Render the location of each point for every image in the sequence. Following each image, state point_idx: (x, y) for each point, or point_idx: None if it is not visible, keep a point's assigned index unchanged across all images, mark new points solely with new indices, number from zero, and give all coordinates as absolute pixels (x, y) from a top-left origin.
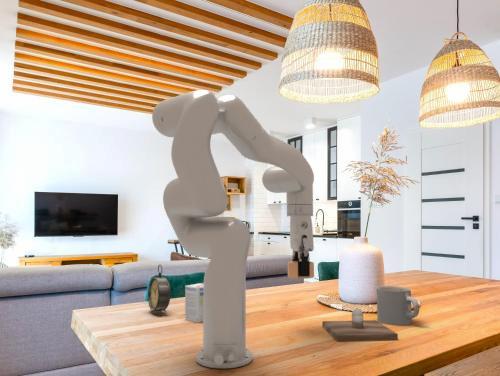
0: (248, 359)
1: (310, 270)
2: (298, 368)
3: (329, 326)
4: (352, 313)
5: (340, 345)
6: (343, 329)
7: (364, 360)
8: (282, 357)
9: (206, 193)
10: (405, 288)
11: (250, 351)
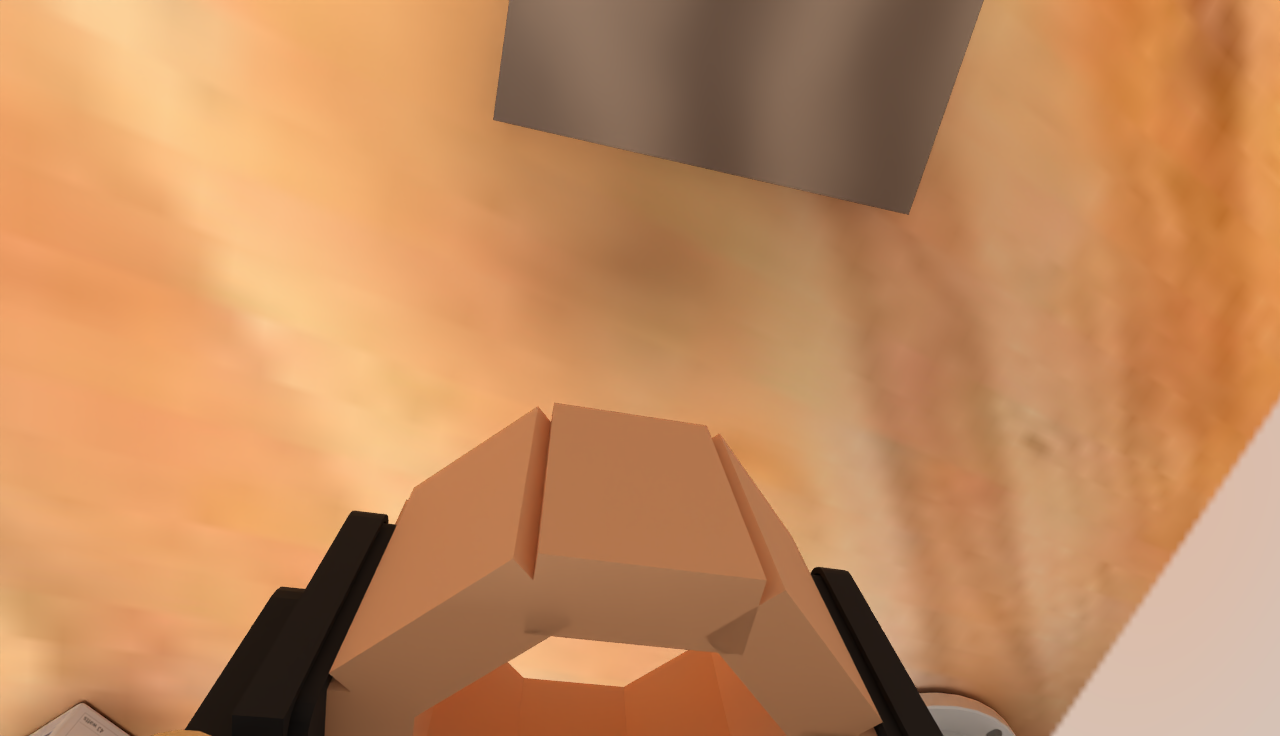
0: (1011, 730)
1: (808, 582)
2: (1136, 562)
3: (673, 146)
4: None
5: (965, 230)
6: (793, 80)
7: (1233, 237)
8: (987, 581)
9: None
10: None
11: (932, 711)
